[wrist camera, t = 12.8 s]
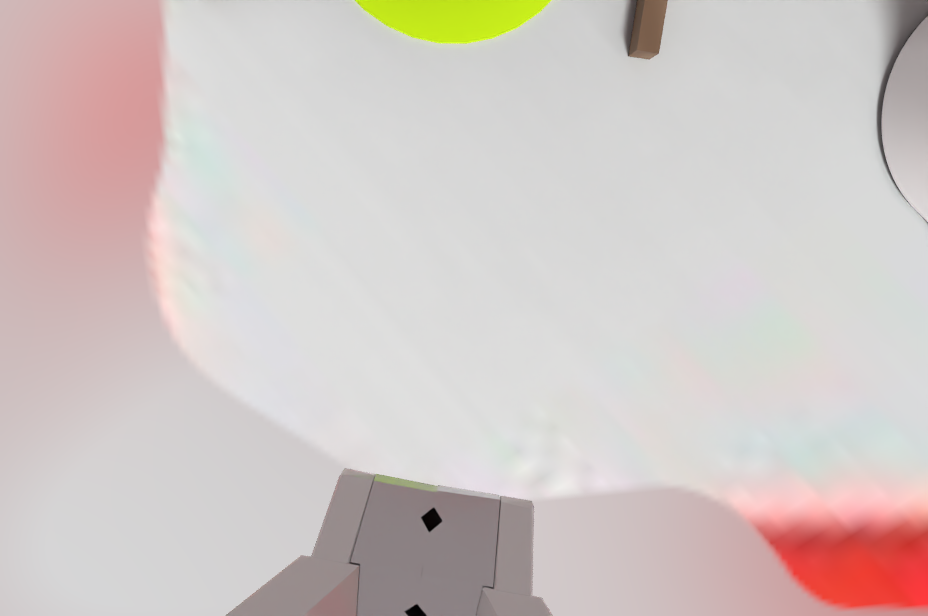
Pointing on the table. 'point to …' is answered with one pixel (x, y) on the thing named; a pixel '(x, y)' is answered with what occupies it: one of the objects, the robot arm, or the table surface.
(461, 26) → the toy cauldron
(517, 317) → the table surface
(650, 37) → the frame
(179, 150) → the table surface
